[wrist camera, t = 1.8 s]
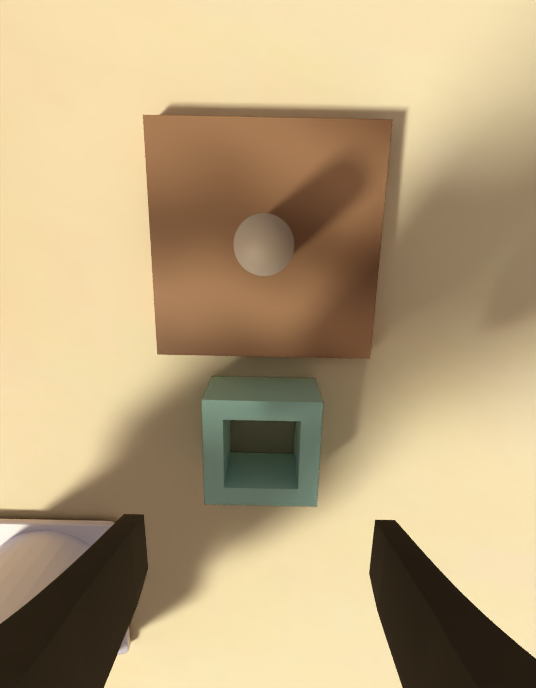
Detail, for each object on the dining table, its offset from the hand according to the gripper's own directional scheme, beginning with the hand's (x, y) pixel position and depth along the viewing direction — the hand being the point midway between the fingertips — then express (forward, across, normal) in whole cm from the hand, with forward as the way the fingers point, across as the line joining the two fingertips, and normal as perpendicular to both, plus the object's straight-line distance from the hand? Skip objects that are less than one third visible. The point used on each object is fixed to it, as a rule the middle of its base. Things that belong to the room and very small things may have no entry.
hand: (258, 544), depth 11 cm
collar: (+8, 0, 0) cm, 8 cm away
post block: (+8, 0, -9) cm, 12 cm away
